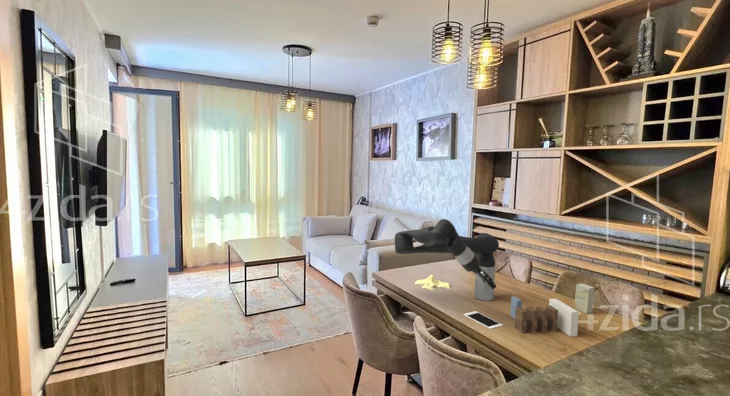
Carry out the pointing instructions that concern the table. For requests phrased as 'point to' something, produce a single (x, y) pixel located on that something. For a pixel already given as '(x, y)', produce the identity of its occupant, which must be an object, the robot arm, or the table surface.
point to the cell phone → (483, 319)
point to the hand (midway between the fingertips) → (490, 284)
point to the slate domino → (515, 305)
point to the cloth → (432, 283)
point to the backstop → (566, 317)
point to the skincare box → (584, 298)
